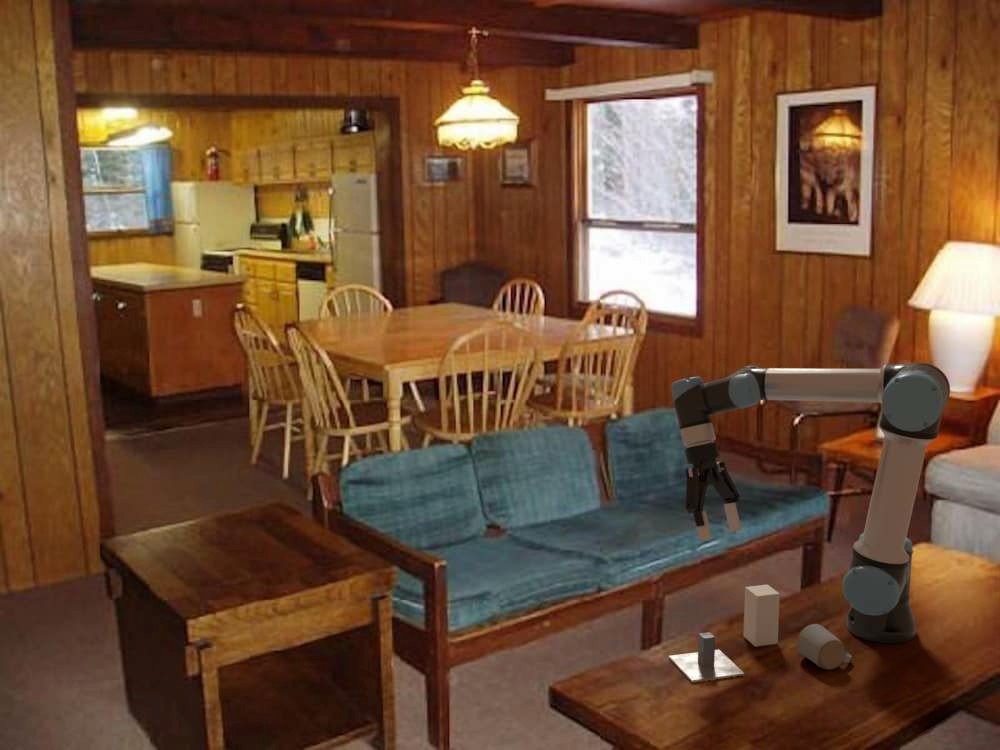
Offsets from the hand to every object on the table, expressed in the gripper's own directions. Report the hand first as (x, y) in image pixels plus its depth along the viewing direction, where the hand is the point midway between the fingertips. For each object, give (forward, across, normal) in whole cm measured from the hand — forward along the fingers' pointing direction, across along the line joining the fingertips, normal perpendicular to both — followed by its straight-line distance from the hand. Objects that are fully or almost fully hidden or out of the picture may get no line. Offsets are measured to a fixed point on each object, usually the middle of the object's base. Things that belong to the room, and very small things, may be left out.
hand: (721, 535), depth 241 cm
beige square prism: (+25, -5, +1) cm, 25 cm away
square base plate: (+26, +15, -2) cm, 30 cm away
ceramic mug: (+31, -4, +16) cm, 35 cm away
